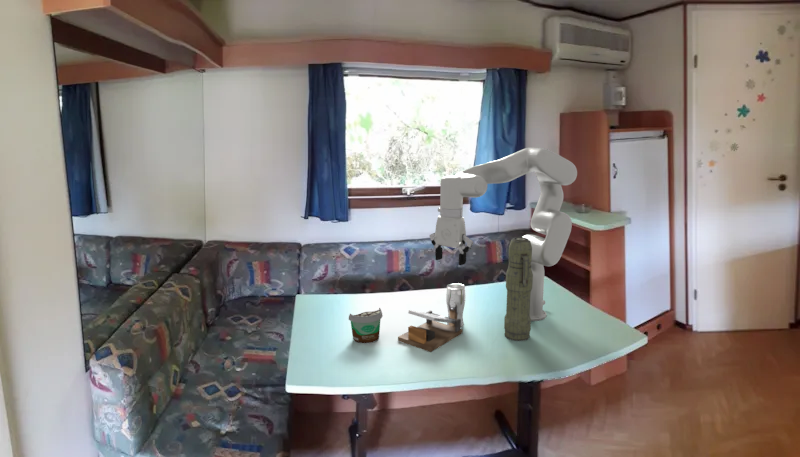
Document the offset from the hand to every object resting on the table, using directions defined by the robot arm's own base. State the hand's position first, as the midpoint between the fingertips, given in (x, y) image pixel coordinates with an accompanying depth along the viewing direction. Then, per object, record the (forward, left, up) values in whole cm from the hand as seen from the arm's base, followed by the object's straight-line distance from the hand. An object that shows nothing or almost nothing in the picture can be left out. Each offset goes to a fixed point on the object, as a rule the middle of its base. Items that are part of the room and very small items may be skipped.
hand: (450, 261), depth 173 cm
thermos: (-13, +20, -27) cm, 35 cm away
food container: (+22, -18, -27) cm, 39 cm away
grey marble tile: (+5, -3, -20) cm, 21 cm away
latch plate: (+6, -3, -27) cm, 28 cm away
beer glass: (-8, -3, -27) cm, 28 cm away
